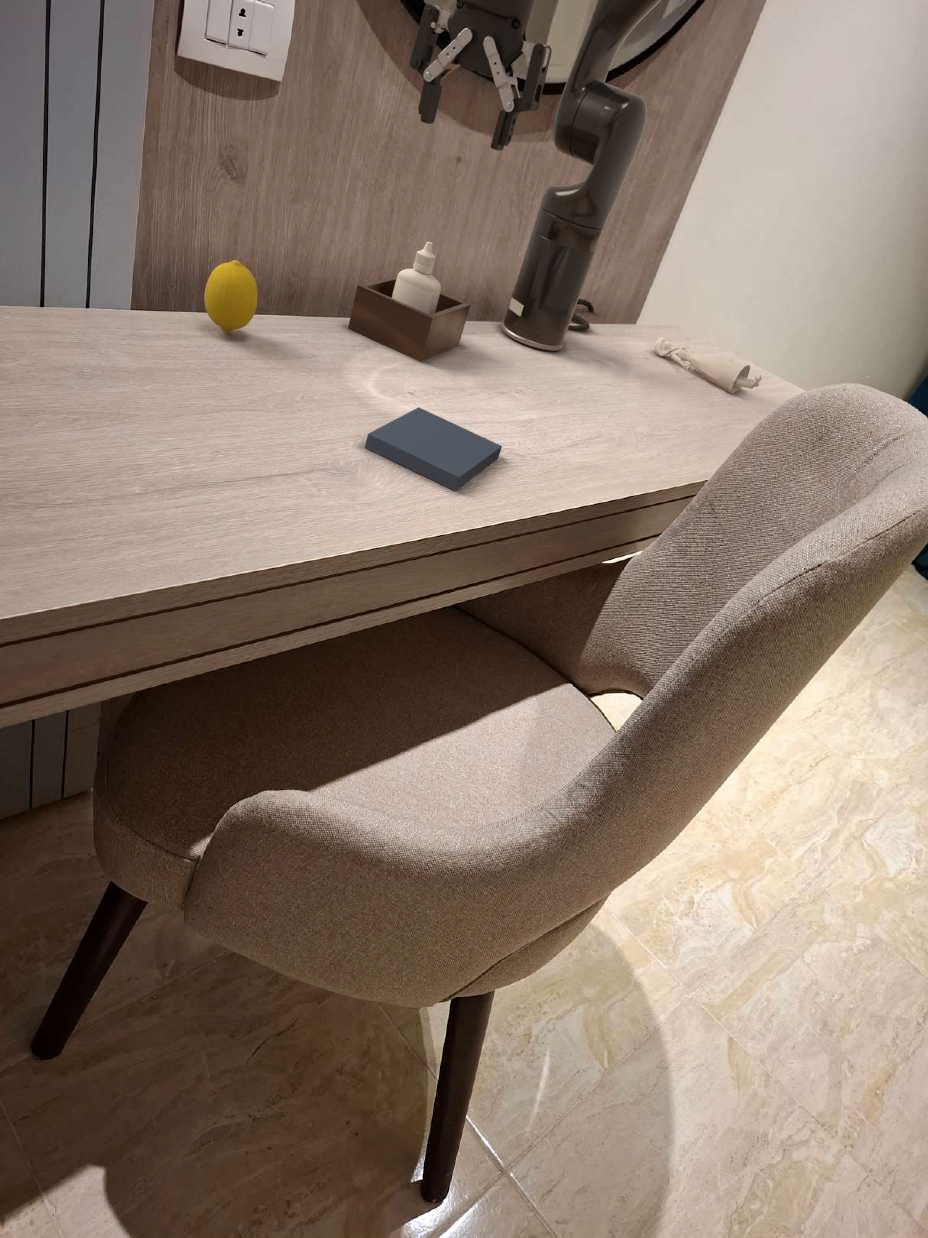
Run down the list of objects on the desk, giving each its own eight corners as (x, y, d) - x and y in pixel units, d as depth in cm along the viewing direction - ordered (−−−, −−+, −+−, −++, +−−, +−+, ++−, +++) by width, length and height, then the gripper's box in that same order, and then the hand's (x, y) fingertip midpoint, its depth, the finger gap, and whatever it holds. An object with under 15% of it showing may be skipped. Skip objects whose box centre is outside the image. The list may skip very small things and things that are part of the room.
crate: (390, 314, 122) (400, 274, 119) (458, 345, 120) (470, 304, 117) (347, 328, 113) (357, 284, 110) (420, 361, 111) (432, 318, 108)
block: (414, 419, 96) (418, 406, 95) (497, 458, 94) (502, 445, 93) (364, 447, 87) (368, 433, 86) (455, 491, 85) (459, 477, 84)
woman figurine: (750, 375, 134) (644, 333, 141) (738, 403, 136) (634, 360, 143) (774, 366, 142) (673, 327, 149) (762, 393, 145) (664, 353, 152)
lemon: (192, 331, 98) (201, 256, 93) (212, 318, 102) (221, 246, 98) (241, 348, 98) (252, 274, 93) (258, 334, 102) (270, 263, 98)
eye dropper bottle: (405, 346, 114) (430, 249, 107) (379, 327, 117) (402, 232, 110) (431, 346, 117) (457, 252, 110) (404, 328, 120) (428, 235, 113)
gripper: (583, -17, 90) (531, 157, 99) (457, -60, 93) (418, 113, 102) (559, -27, 84) (507, 159, 93) (426, -73, 86) (388, 113, 96)
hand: (461, 135), depth 97 cm, fingers open, 8 cm apart
